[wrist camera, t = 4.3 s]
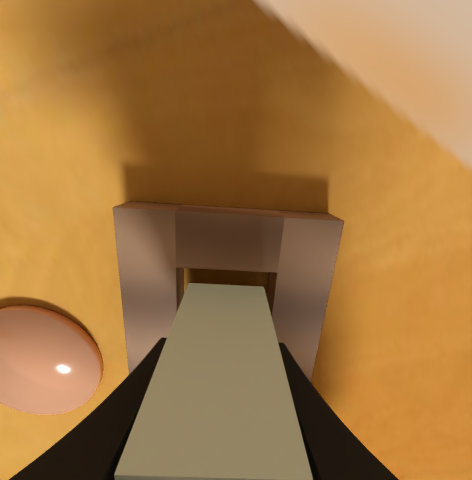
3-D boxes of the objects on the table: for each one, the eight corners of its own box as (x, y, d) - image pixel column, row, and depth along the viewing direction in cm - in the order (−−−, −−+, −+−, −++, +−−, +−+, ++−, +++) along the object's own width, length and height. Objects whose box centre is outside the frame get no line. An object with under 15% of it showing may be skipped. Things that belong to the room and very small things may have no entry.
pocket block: (300, 367, 17) (308, 392, 15) (142, 361, 17) (130, 386, 15) (328, 213, 14) (344, 221, 12) (130, 201, 13) (112, 207, 11)
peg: (257, 347, 14) (287, 581, 6) (188, 344, 13) (129, 578, 6) (263, 286, 12) (313, 480, 5) (188, 282, 12) (114, 474, 5)
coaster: (109, 408, 18) (105, 416, 17) (-11, 404, 18) (-19, 412, 17) (95, 308, 15) (89, 314, 15) (-47, 301, 15) (-58, 307, 14)
